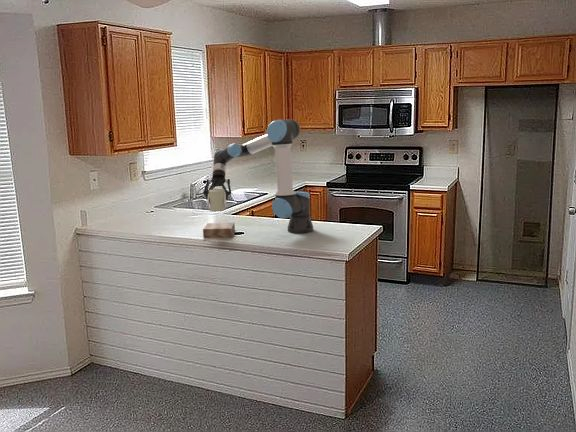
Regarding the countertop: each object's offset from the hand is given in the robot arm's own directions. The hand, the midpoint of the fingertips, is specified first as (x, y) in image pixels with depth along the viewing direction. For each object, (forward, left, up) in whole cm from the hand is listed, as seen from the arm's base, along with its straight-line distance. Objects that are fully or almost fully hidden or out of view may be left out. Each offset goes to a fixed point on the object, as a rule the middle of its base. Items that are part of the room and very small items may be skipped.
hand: (216, 204), depth 320 cm
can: (0, -3, -4) cm, 5 cm away
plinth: (0, -3, -18) cm, 19 cm away
